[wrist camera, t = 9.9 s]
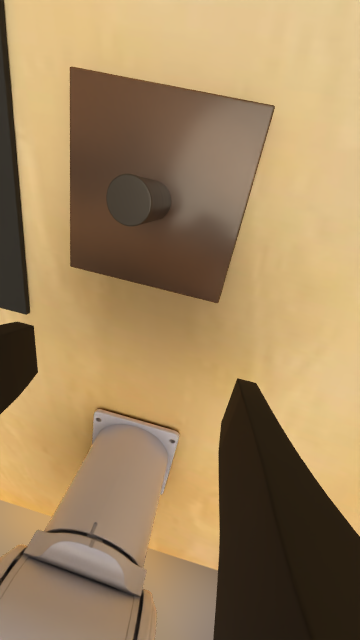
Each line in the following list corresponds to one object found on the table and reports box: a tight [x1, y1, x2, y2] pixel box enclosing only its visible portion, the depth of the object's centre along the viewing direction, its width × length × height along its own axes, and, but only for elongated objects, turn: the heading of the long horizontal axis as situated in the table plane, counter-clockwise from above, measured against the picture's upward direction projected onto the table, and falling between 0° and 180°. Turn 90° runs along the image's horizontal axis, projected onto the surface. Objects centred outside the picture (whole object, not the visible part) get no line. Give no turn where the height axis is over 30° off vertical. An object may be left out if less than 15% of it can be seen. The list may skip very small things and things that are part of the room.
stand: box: [70, 67, 275, 303], centre depth 13 cm, size 10×10×5 cm
